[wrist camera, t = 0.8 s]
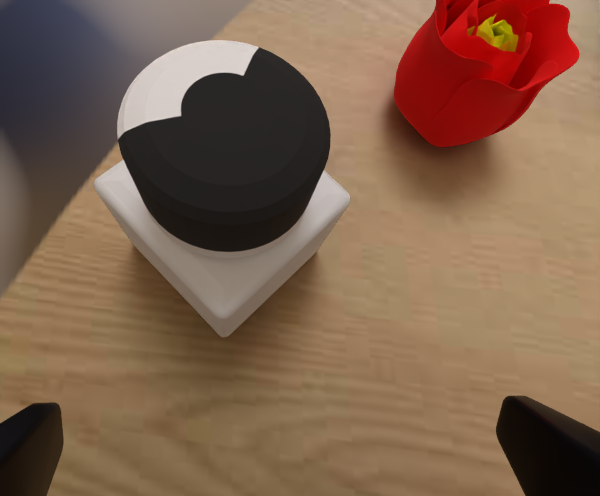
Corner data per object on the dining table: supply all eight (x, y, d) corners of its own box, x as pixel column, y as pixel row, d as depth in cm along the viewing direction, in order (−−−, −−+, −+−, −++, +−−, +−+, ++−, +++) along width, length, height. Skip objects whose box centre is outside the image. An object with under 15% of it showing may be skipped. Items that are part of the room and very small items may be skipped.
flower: (396, 48, 29) (457, -70, 21) (499, 91, 29) (594, -10, 22) (366, 140, 26) (422, 42, 19) (479, 185, 26) (578, 107, 19)
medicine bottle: (319, 249, 23) (404, 126, 12) (224, 341, 21) (219, 294, 10) (231, 162, 24) (234, -30, 13) (130, 242, 22) (25, 93, 11)
